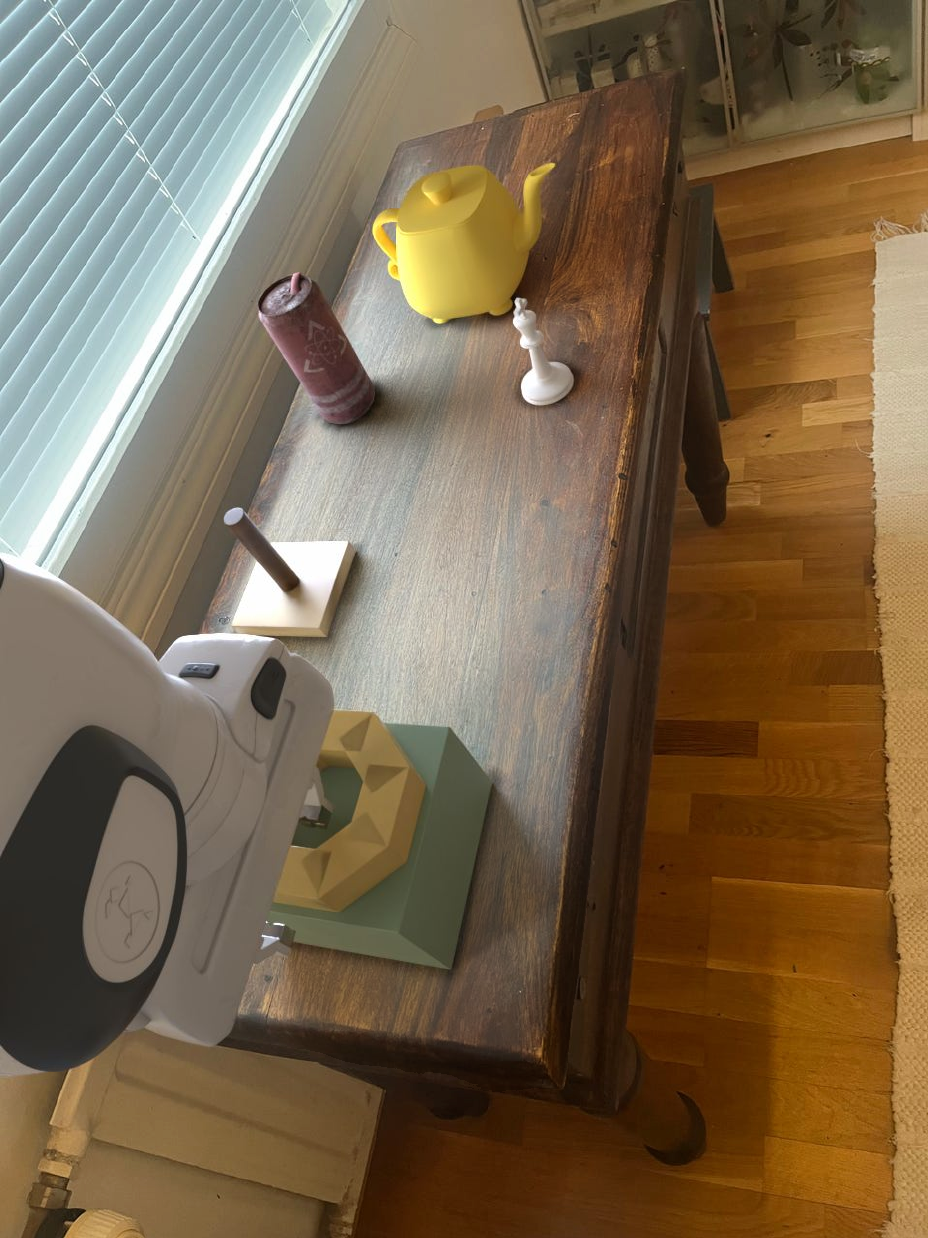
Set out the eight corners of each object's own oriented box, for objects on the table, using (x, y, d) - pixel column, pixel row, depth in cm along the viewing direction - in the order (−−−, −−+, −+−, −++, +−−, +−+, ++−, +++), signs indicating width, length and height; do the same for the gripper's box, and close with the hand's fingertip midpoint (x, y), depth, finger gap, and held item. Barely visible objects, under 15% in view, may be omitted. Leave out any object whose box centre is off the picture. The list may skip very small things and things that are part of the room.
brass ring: (392, 921, 53) (372, 907, 51) (223, 894, 58) (198, 880, 56) (439, 734, 59) (423, 714, 57) (282, 723, 63) (262, 704, 61)
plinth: (451, 970, 60) (398, 933, 53) (281, 940, 65) (212, 902, 58) (492, 781, 66) (450, 726, 59) (334, 767, 71) (277, 715, 64)
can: (383, 376, 95) (322, 263, 84) (369, 423, 91) (304, 311, 80) (331, 384, 97) (265, 274, 86) (315, 429, 94) (245, 321, 83)
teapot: (417, 259, 104) (371, 154, 94) (592, 229, 96) (562, 112, 86) (389, 346, 97) (336, 243, 87) (575, 321, 90) (541, 204, 80)
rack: (327, 637, 78) (262, 562, 70) (239, 635, 82) (167, 563, 73) (356, 550, 83) (299, 469, 74) (271, 552, 86) (207, 475, 78)
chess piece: (582, 369, 86) (555, 280, 78) (560, 408, 84) (531, 322, 76) (535, 364, 88) (505, 278, 80) (513, 402, 86) (480, 318, 78)
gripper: (136, 1032, 38) (293, 1079, 49) (289, 611, 48) (392, 728, 59) (23, 1005, 41) (197, 1055, 51) (191, 610, 50) (307, 722, 61)
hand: (302, 878), depth 55 cm, fingers open, 6 cm apart
